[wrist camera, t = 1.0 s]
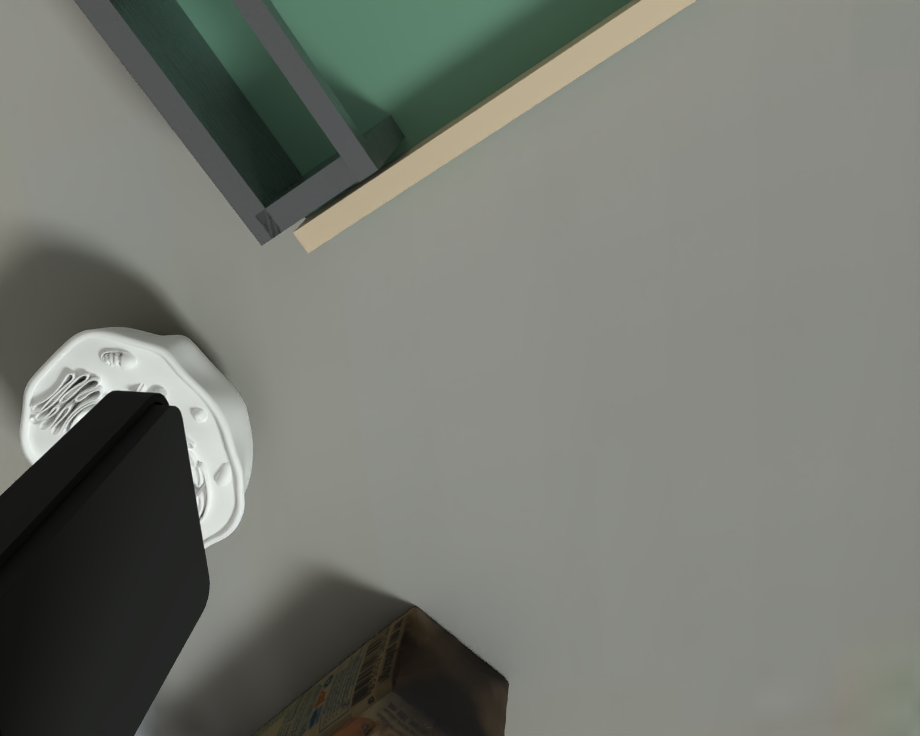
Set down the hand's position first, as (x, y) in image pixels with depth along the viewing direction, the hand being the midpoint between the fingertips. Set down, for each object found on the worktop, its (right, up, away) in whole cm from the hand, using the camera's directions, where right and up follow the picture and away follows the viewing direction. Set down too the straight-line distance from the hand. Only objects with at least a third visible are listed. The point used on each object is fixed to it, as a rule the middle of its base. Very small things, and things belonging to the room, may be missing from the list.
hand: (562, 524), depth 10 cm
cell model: (-15, 0, +31) cm, 35 cm away
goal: (-8, +14, +22) cm, 28 cm away
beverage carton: (-7, -19, +40) cm, 45 cm away
